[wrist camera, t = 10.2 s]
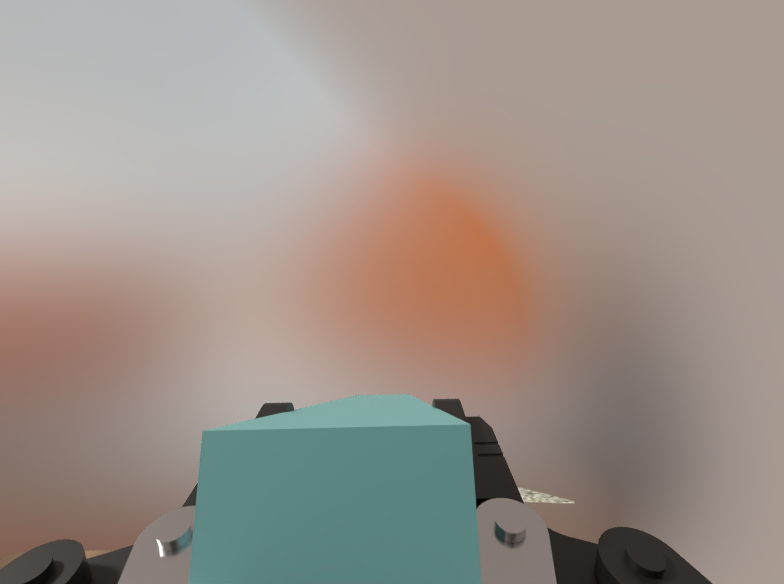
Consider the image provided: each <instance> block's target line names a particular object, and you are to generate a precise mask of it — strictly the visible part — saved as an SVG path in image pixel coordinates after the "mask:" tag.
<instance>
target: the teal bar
mask: <svg viewBox="0 0 784 584" xmlns="http://www.w3.org/2000/svg"><path fill="white" fill-rule="evenodd" d="M202 434H203V435H202V444H201V454H200V466H199V476H198V486H197V497H196V507H195V518H194V528H193V539H192V549H191V560H190V571H189V581H188V584H482V580H481V566H480V552H479V538H478V524H477V510H476V496H475V482H474V468H473V454H472V440H471V426H470V424H469V423H467V422H465V421H463V420H460V419H458V418H456V417H454V416H452V415H450V414H448V413H446V412H444V411H442V410H440V409H436V408H434V407H433V406H432V405H429V404H427V403H425V402H423V401H421V400H419V399H417V398H415V397H413V396H411V395H408V394H403V395H402V394H401V395H360V396H359V395H358V396H352V397H348V398H344V399H339V400H335V401H331V402H326V403H322V404H318V405H313V406H309V407H305V408H300V409H296V410H293V411H289V412H283V413H278V414H274V415H270V416H265V417H261V418H257V419H253V420H248V421H244V422H239V423H235V424H231V425H226V426H222V427H218V428H214V429H209V430H205V431H203V433H202Z"/></svg>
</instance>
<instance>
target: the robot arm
mask: <svg viewBox="0 0 784 584" xmlns="http://www.w3.org/2000/svg"><path fill="white" fill-rule="evenodd" d="M433 407H434V408H436V409H440V410H442V411H444V412H446V413H448V414H450V415H452V416H454V417H456V418H458V419H460V420H463V421H465V422H467V423H469V424H470V426H471V440H472V454H473V468H474V482H475V496H476V510H477V524H478V538H479V552H480V566H481V580H482V584H712V583H711V582H710V581H709V580H707V579H706V578H705V577H704V576H703V575H702V574H701V573H700V572H698V571H697V570H696V569H695V568H694V567H693V566H691V565H690V564H689V563H688V562H687V561H686V560H685V559H683V558H682V557H681V556H680V555H679V554H677V553H676V552H675V551H674V550H673V549H672V548H670V547H669V546H668V545H667V544H665V543H664V542H662V541H661V540H659V539H658V538H656V537H654V536H652V535H650V534H648V533H645V532H643V531H640V530H637V529H633V528H628V527H615V528H611V529H609V530H607V531H605V532H604V533H603V534H602V535H601V537H600V539H599V543H598V544H595V543H591V542H587V541H583V540H580V539H576V538H571V537H568V536H565V535H561V534H559V533H557V532H555V531H552V530H551V529H549V528H547V527H546V525H545V523H544V521H543V520H542V519H541V517H540V516H539V515H538V514H537V513H536V512H535V511H534V510H533V509H531V508H530V507H528V506H527V505H525V504H524V502H523V500H522V498H521V495H520V493H519V490H518V488H517V486H516V483H515V482H514V479H513V476H512V474H511V472H510V469H509V467H508V465H507V462H506V460H505V458H504V457H503V453H502V451H501V448H500V446H499V445H498V441H497V439H496V436H495V434H494V432H493V429H492V428H491V427H490V426H489V425H488V424H487V423H486V422H485V421H484V420H483V419H482V418H480V417H465V414H464V411H463V408H462V405H461V402H460V400H459V399H434V400H433ZM293 410H294V407H293V404H292V403H265V404H264V405H263V406H262V408H261V409H260V411H259V413H258V415H257V416H256V418H255V419H257V418H261V417H265V416H270V415H274V414H278V413H283V412H289V411H293ZM197 486H198V483H197V485H196V486H195V488H194V489H193V491H192V493H191V494H190V496H189V497H188V499H187V500H186V502H185V503H184V505H183V507H182V508H178V509H175V510H173V511H170V512H168V513H166V514H165V515H163V516H161V517H160V518H158V519H156V520H155V521H154V522H152V523H151V524H150V525H149V526H148V527H147V528H146V529H145V530H144V531H143V532H142V533H141V534H140V536H139V537H138V539H137V540H136V542H135V544H134V545H132V546H129V547H126V548H122V549H119V550H115V551H112V552H108V553H105V554H101V555H98V556H95V557H91V558H88V559H87V558H86V555H85V552H84V549H83V546H82V545H81V544H80V543H79V542H77V541H75V540H66V539H65V540H57V541H53V542H49V543H46V544H43V545H41V546H38V547H36V548H34V549H32V550H30V551H28V552H26V553H24V554H22V555H21V556H19V557H17V558H16V559H14V560H13V561H11V562H10V563H8V564H7V565H6V566H4V567H3V568H2V569H0V584H188V581H189V571H190V560H191V549H192V539H193V528H194V518H195V507H196V497H197Z"/></svg>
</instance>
